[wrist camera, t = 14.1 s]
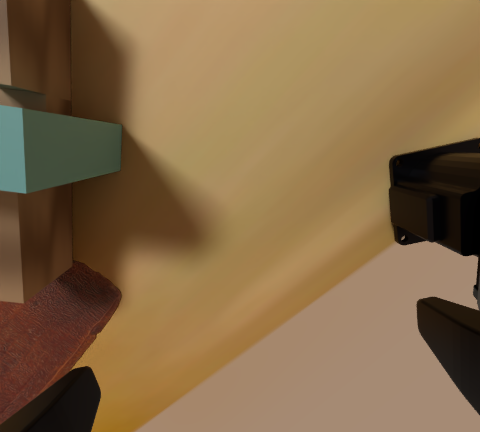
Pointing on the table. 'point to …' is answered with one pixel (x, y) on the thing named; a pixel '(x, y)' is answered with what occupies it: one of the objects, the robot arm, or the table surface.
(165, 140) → the table surface
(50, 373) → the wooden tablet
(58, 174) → the teal flat block
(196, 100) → the table surface
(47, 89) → the walnut notched bar
